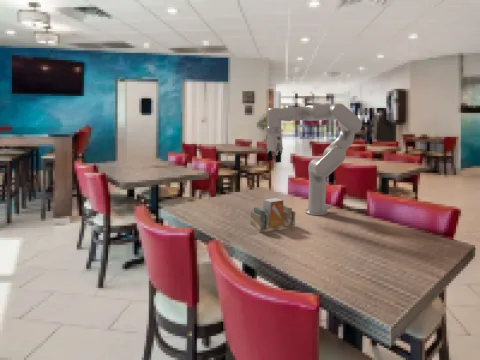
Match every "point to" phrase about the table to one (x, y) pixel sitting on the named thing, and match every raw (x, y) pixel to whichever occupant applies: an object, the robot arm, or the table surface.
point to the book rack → (262, 220)
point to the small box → (274, 211)
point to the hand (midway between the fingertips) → (273, 161)
